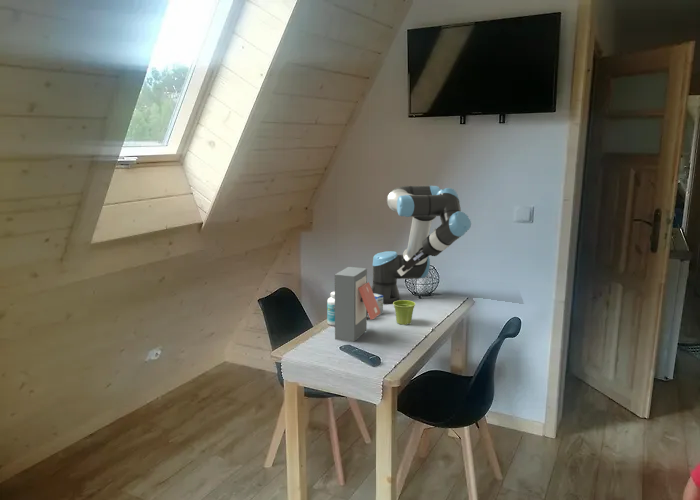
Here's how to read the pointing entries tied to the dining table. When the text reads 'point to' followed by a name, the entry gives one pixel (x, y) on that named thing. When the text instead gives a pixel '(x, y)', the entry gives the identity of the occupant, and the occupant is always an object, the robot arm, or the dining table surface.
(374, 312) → the salmon pink panel
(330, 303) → the pill bottle
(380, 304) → the medicine box
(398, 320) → the plant pot
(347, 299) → the switch panel
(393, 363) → the dining table surface
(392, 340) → the dining table surface
